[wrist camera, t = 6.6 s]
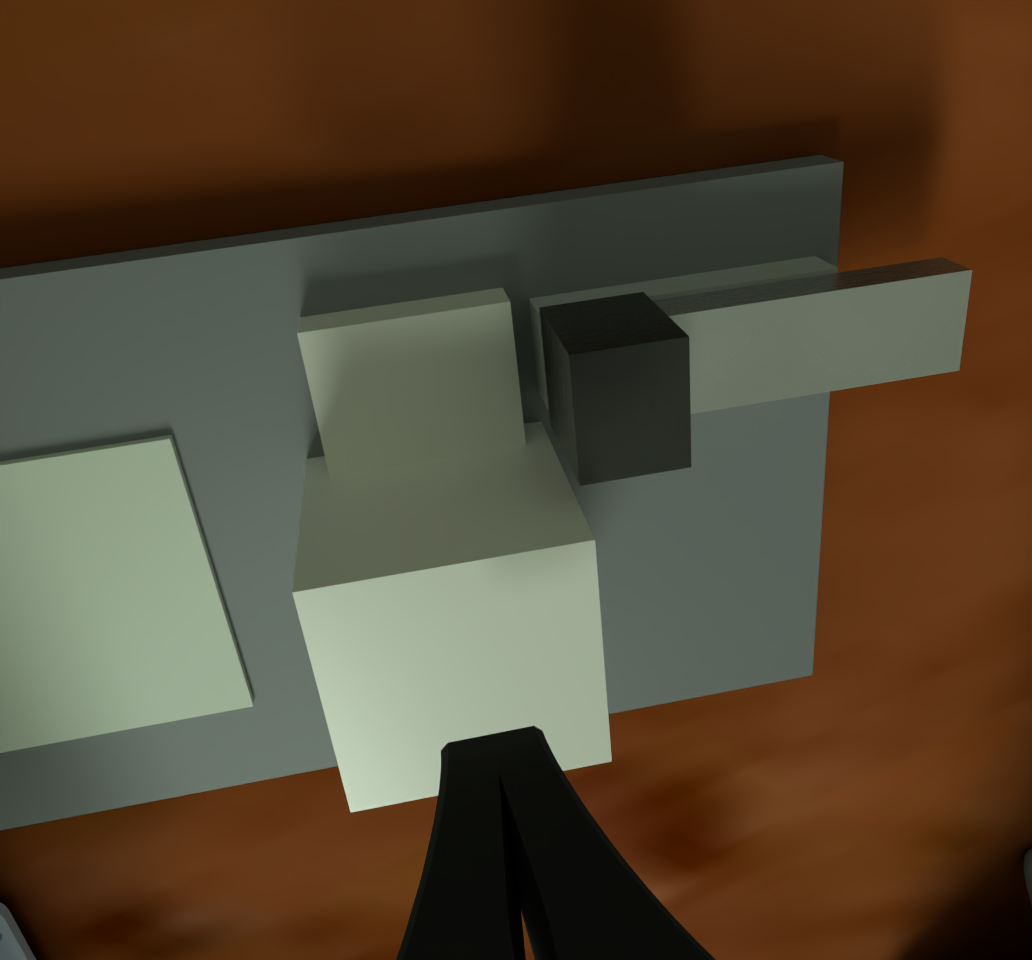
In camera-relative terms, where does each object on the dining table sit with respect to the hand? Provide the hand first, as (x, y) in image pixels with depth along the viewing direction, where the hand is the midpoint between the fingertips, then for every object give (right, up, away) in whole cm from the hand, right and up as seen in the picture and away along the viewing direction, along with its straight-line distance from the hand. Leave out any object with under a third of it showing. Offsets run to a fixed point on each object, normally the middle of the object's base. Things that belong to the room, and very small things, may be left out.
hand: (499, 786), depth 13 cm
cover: (-2, +4, +7) cm, 8 cm away
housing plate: (-3, +4, +8) cm, 9 cm away
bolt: (+5, +7, +5) cm, 10 cm away
